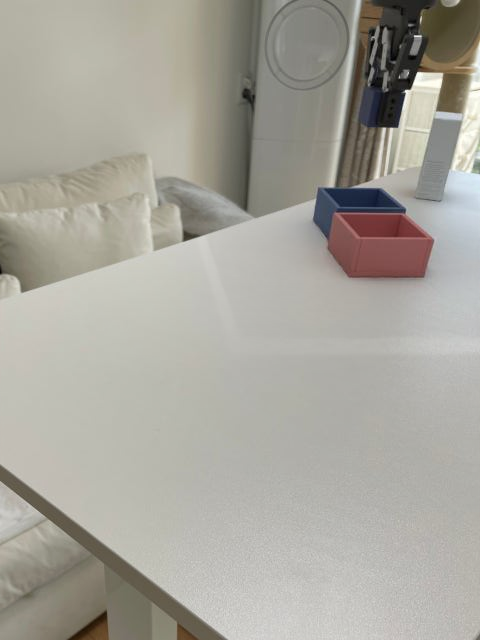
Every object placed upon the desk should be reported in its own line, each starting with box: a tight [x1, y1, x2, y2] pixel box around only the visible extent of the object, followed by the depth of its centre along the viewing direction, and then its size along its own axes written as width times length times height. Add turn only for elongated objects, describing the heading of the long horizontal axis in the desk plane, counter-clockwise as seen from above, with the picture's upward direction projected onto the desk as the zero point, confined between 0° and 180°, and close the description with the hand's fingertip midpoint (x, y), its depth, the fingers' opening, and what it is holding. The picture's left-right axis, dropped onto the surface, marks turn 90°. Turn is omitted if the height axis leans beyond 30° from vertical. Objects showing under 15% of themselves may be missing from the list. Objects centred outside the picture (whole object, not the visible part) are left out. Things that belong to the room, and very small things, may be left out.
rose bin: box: [326, 213, 435, 278], centre depth 80 cm, size 9×10×5 cm
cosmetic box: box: [414, 111, 464, 202], centre depth 103 cm, size 6×4×12 cm
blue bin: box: [312, 186, 407, 241], centre depth 89 cm, size 9×10×5 cm
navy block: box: [357, 86, 407, 129], centre depth 82 cm, size 4×4×4 cm
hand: (378, 122), depth 83 cm, fingers closed on navy block, 4 cm apart
